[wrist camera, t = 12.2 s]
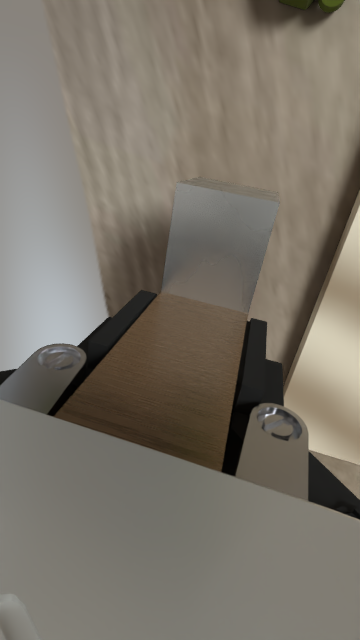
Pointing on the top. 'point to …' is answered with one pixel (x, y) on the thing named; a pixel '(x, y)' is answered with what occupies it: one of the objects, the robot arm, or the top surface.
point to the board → (332, 356)
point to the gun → (328, 3)
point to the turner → (186, 330)
